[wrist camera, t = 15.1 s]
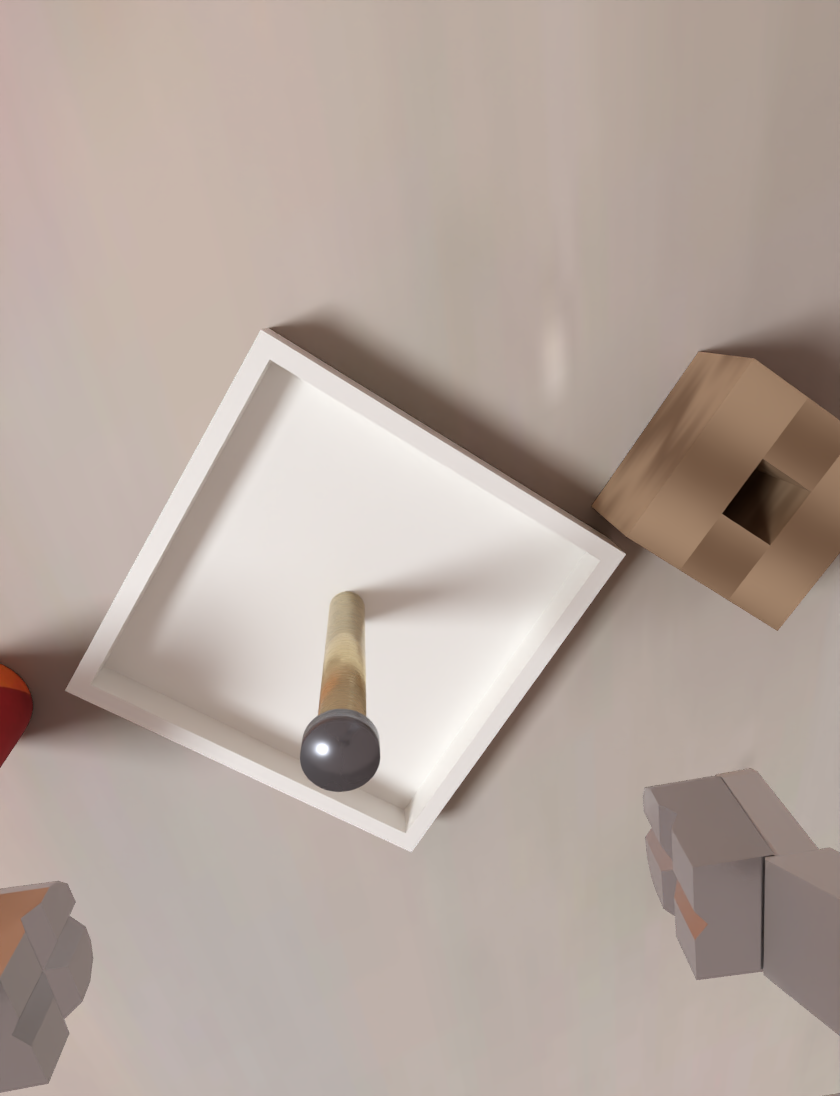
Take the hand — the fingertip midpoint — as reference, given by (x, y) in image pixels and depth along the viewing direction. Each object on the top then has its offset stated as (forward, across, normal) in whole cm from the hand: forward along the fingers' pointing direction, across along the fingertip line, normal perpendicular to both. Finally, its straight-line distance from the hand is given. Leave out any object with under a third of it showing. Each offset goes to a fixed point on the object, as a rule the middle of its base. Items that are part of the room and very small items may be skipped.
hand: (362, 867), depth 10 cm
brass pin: (+30, +3, +9) cm, 32 cm away
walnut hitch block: (+32, -18, +6) cm, 37 cm away
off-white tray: (+31, +3, +9) cm, 33 cm away
